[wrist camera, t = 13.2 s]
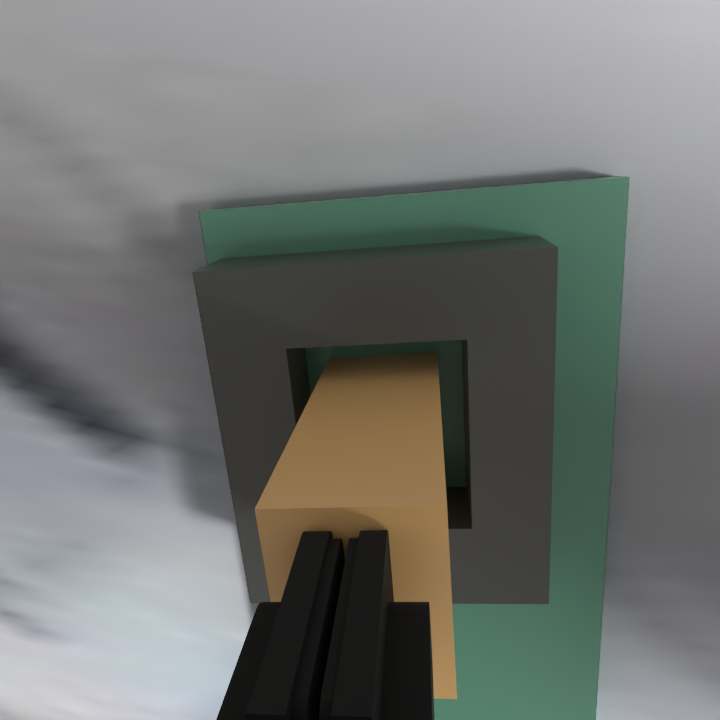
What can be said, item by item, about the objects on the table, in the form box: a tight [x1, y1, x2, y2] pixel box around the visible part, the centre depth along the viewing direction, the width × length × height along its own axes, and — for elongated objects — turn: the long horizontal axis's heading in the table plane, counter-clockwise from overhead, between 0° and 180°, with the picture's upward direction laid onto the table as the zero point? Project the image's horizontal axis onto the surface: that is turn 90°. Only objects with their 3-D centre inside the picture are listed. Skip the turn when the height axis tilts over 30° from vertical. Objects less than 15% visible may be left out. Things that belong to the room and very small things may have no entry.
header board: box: [193, 176, 629, 720], centre depth 21 cm, size 13×26×4 cm, turn 5°
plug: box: [255, 352, 457, 699], centre depth 16 cm, size 4×6×9 cm, turn 5°
